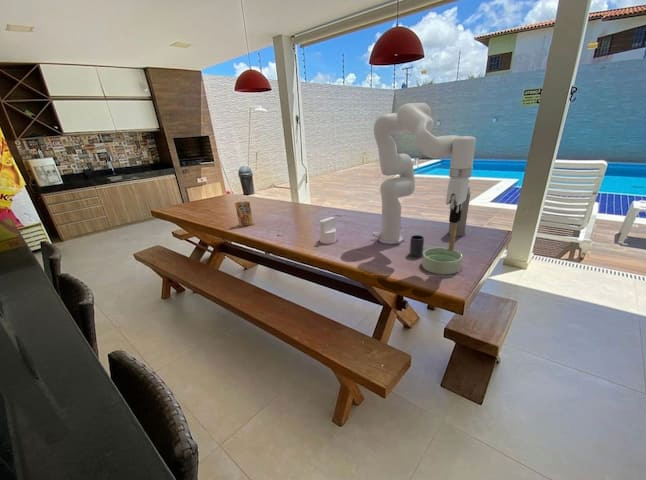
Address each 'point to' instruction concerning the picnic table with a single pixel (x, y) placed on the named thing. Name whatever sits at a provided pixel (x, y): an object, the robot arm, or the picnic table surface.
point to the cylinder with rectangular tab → (327, 231)
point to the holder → (416, 246)
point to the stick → (452, 236)
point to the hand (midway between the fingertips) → (454, 221)
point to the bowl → (441, 260)
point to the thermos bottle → (462, 216)
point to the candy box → (244, 213)
